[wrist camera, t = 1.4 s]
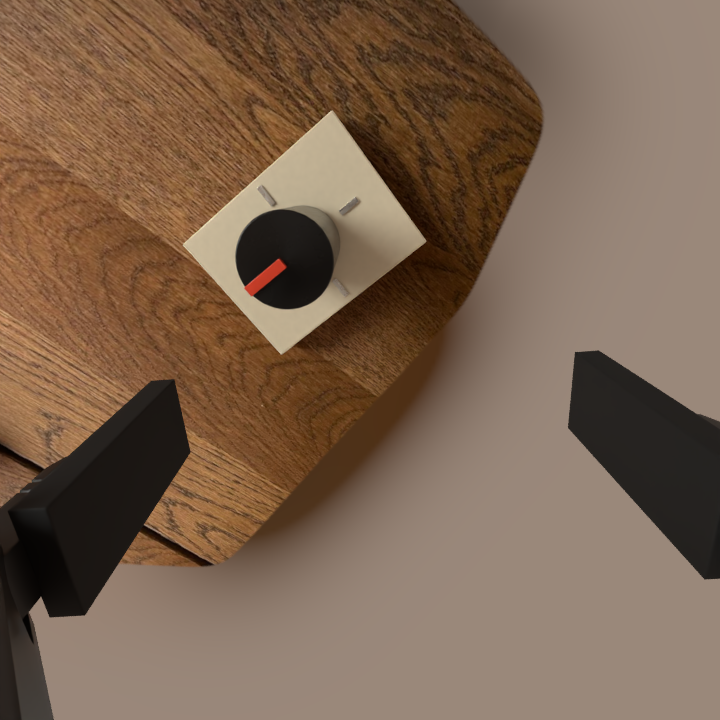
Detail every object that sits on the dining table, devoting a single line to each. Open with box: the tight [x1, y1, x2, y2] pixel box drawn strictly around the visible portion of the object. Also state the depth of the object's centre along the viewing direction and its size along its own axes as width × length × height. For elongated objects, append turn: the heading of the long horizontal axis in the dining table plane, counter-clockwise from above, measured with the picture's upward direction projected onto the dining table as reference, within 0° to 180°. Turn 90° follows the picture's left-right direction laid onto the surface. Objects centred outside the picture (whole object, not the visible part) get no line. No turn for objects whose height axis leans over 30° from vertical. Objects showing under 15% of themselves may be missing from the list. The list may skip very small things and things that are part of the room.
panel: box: [183, 111, 426, 355], centre depth 32 cm, size 13×10×3 cm
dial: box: [235, 205, 340, 310], centre depth 26 cm, size 5×5×9 cm
